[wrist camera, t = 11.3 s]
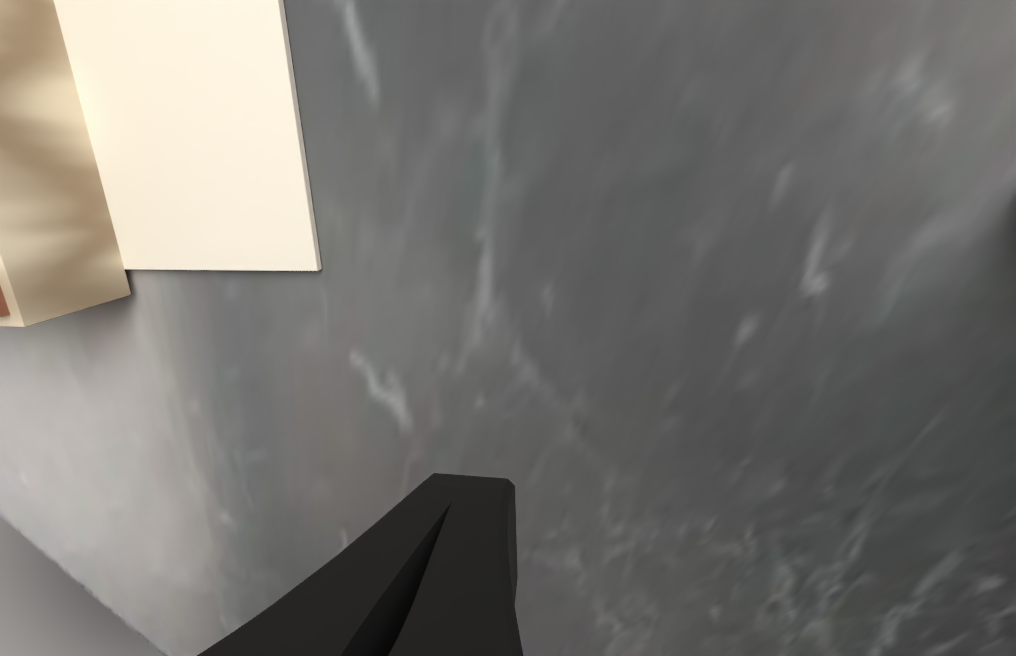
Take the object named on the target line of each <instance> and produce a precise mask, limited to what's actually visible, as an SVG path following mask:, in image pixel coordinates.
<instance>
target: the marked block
mask: <svg viewBox="0 0 1016 656" xmlns="http://www.w3.org/2000/svg"><path fill="white" fill-rule="evenodd" d="M128 295H131V292H130V288H129V284H128V281H127V277H126V273H125V269H124V265H123V262H122V258H121V254H120V250H119V247H118V243H117V239H116V235H115V231H114V228H113V224H112V220H111V216H110V212H109V209H108V205H107V201H106V197H105V193H104V190H103V186H102V182H101V178H100V175H99V171H98V167H97V163H96V159H95V156H94V152H93V148H92V144H91V140H90V137H89V133H88V129H87V125H86V122H85V118H84V114H83V110H82V106H81V103H80V99H79V95H78V91H77V87H76V84H75V80H74V76H73V72H72V68H71V65H70V61H69V57H68V53H67V50H66V46H65V42H64V38H63V34H62V31H61V27H60V23H59V19H58V15H57V12H56V8H55V4H54V0H0V326H15V327H26V326H29V325H33V324H36V323H39V322H42V321H46V320H49V319H52V318H56V317H59V316H62V315H66V314H69V313H72V312H76V311H79V310H82V309H85V308H89V307H92V306H95V305H99V304H102V303H105V302H109V301H112V300H115V299H118V298H122V297H125V296H128Z"/></svg>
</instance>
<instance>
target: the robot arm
mask: <svg viewBox="0 0 1016 656" xmlns="http://www.w3.org/2000/svg"><path fill="white" fill-rule="evenodd" d="M516 586H517V545H516V510H515V486H514V485H513V484H512V483H511V482H510V481H509V480H508V479H503V478H490V477H477V476H464V475H451V474H438V473H434V474H432V475H431V476H430V477H429V478H428V479H426V480H425V481H424V482H423V483H422V484H420V485H419V486H418V487H417V488H416V489H415V490H414V491H412V492H411V493H410V494H409V495H408V496H407V497H405V498H404V499H403V500H402V501H401V502H400V503H398V504H397V505H396V506H395V507H394V508H393V509H392V510H390V511H389V512H388V513H387V514H386V515H385V516H383V517H382V518H381V519H380V520H379V521H378V522H376V523H375V524H374V525H373V526H372V527H371V528H369V529H368V530H367V531H366V532H365V533H363V534H362V535H361V536H360V537H359V538H357V539H356V540H355V541H354V542H353V543H351V544H350V545H349V546H348V547H347V548H345V549H344V550H343V551H342V552H341V553H339V554H338V555H337V556H336V557H334V558H333V559H332V560H330V561H329V562H328V563H327V564H325V565H324V566H323V567H321V568H320V569H319V570H317V571H316V572H315V573H313V574H312V575H311V576H310V577H308V578H307V579H306V580H304V581H303V582H302V583H300V584H299V585H298V586H296V587H295V588H294V589H293V590H291V591H290V592H289V593H287V594H286V595H285V596H283V597H282V598H281V599H279V600H278V601H277V602H276V603H274V604H273V605H271V606H270V607H269V608H267V609H266V610H264V611H263V612H262V613H260V614H259V615H257V616H256V617H254V618H253V619H252V620H250V621H249V622H247V623H246V624H244V625H243V626H241V627H240V628H238V629H237V630H236V631H234V632H233V633H231V634H230V635H228V636H226V637H225V638H223V639H222V640H220V641H219V642H217V643H216V644H214V645H213V646H211V647H210V648H208V649H207V650H205V651H204V652H202V653H200V654H199V655H197V656H523V651H522V646H521V641H520V636H519V630H518V624H517V618H516V613H515V606H514V605H515V595H516Z"/></svg>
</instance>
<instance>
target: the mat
mask: <svg viewBox="0 0 1016 656" xmlns="http://www.w3.org/2000/svg"><path fill="white" fill-rule="evenodd" d="M54 4H55V8H56V12H57V15H58V19H59V23H60V27H61V31H62V34H63V38H64V42H65V46H66V50H67V53H68V57H69V61H70V65H71V68H72V72H73V76H74V80H75V84H76V87H77V91H78V95H79V99H80V103H81V106H82V110H83V114H84V118H85V122H86V125H87V129H88V133H89V137H90V140H91V144H92V148H93V152H94V156H95V159H96V163H97V167H98V171H99V175H100V178H101V182H102V186H103V190H104V193H105V197H106V201H107V205H108V209H109V212H110V216H111V220H112V224H113V228H114V231H115V235H116V239H117V243H118V247H119V250H120V254H121V258H122V262H123V265H124V269H148V270H268V271H319V270H321V269H322V267H321V260H320V253H319V246H318V239H317V232H316V225H315V218H314V211H313V204H312V197H311V190H310V183H309V176H308V169H307V162H306V155H305V148H304V141H303V134H302V127H301V120H300V113H299V106H298V99H297V92H296V85H295V78H294V71H293V64H292V57H291V50H290V43H289V37H288V30H287V23H286V16H285V9H284V2H283V0H54Z"/></svg>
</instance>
